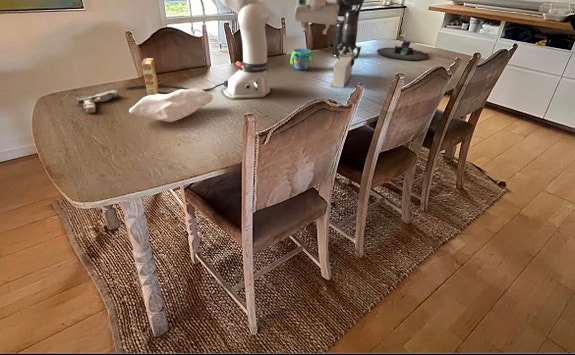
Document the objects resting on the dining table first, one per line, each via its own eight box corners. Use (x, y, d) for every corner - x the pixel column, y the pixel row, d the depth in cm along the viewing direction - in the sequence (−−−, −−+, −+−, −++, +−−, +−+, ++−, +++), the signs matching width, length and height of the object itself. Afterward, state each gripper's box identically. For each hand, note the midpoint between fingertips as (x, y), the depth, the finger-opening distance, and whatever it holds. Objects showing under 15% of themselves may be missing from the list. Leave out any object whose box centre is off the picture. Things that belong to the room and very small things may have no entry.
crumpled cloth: (117, 110, 146) (113, 90, 140) (195, 92, 166) (194, 73, 160) (143, 139, 134) (140, 118, 128) (223, 116, 154) (224, 96, 148)
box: (343, 87, 186) (346, 66, 180) (332, 85, 187) (334, 64, 181) (350, 75, 204) (353, 55, 198) (340, 74, 205) (343, 54, 199)
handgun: (128, 97, 156) (111, 87, 164) (86, 107, 144) (70, 97, 152) (129, 103, 157) (113, 94, 165) (88, 114, 146) (72, 103, 154)
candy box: (157, 97, 164) (152, 63, 155) (147, 98, 163) (141, 63, 155) (158, 91, 171) (153, 57, 163) (149, 91, 170) (143, 58, 162)
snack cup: (306, 64, 218) (307, 47, 212) (317, 69, 211) (318, 51, 205) (284, 68, 210) (285, 49, 205) (295, 72, 203) (295, 54, 198)
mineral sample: (439, 56, 245) (442, 42, 241) (405, 62, 228) (407, 47, 223) (399, 48, 270) (401, 35, 266) (365, 53, 253) (367, 39, 248)
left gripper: (341, 1, 164) (337, 34, 171) (297, -2, 169) (296, 30, 176) (338, 3, 159) (334, 36, 166) (293, -1, 164) (292, 32, 171)
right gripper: (364, 32, 190) (359, 65, 199) (337, 30, 193) (334, 62, 203) (362, 35, 184) (357, 68, 193) (334, 32, 187) (331, 65, 196)
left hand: (314, 33), depth 171 cm, fingers open, 8 cm apart
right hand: (345, 65), depth 198 cm, fingers closed on box, 5 cm apart
